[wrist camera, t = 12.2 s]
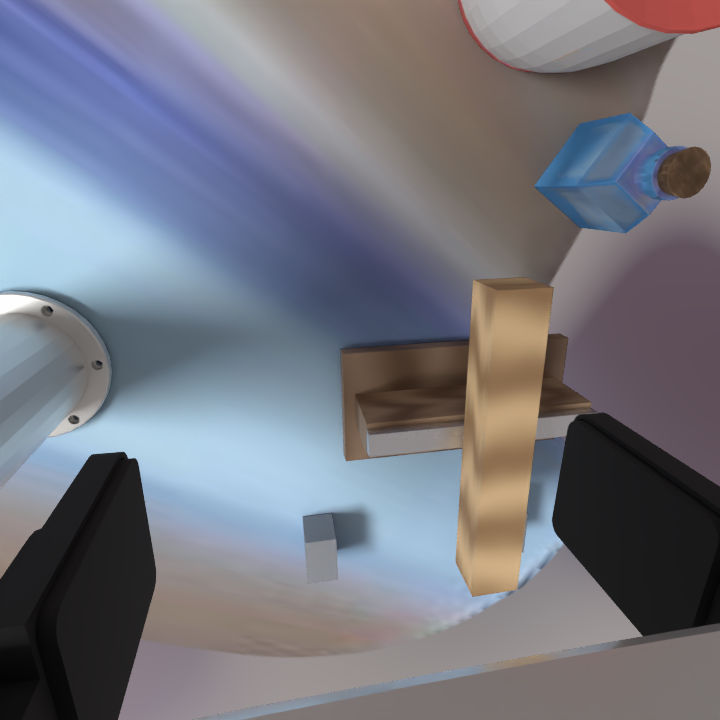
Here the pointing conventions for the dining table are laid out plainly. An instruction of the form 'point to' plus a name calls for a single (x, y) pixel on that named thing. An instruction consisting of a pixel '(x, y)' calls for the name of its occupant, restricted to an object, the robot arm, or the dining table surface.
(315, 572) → the pair of grey cubes
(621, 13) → the citrus juicer
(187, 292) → the dining table surface
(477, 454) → the oak batten
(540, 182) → the perfume bottle
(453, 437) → the stand
